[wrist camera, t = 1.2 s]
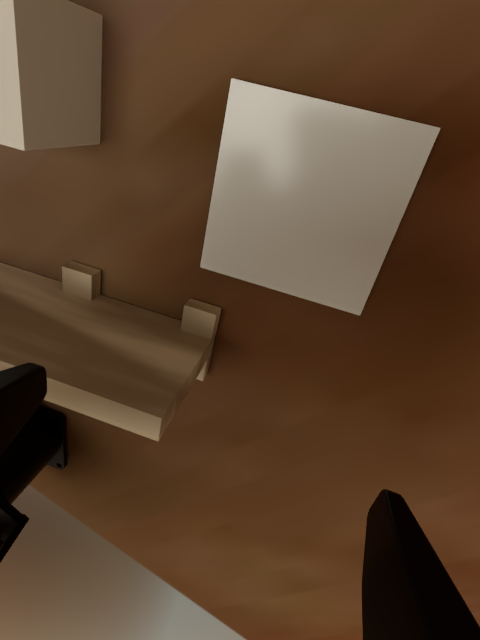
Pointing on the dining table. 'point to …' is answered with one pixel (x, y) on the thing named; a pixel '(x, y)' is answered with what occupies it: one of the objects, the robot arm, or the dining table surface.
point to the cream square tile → (310, 193)
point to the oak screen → (104, 347)
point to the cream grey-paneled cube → (49, 74)
